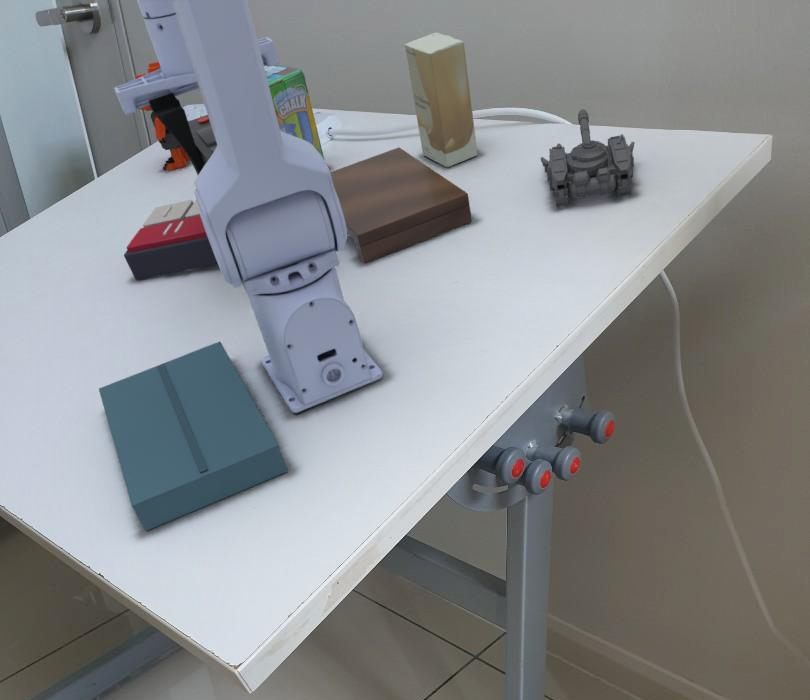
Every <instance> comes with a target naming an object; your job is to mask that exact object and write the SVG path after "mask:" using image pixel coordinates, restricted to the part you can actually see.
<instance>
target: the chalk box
mask: <svg viewBox="0 0 810 700" xmlns="http://www.w3.org/2000/svg"><path fill="white" fill-rule="evenodd" d="M264 68H265V72H266V77H267V81H268V85H269V89H270V93H271V97H272V101H273V105H274V109H275V113H276V117H277V121H278V125H279V129H280V131H282V132H284V133H287V134H290V135H292V136H295V137H297V138H300V139H303V140H305V141H307V142H309V143H310V144H312V145H313V146H314V147H315V149H316V150H317V151H318V152H319V153H320V154H321V156H322V157H323V159H324V161H325V162H326V160H325V155H324V151H323V149H322V148H323V147H322V143H321V140H320V136H319V131H318V127H317V123H316V118H315V114H314V110H313V106H312V103H311V98H310V95H309V89H308V85H307V81H306V77H305V73H304V72H303V70H302V69H300V68H297V67H291V66H284V65H279V64H276V65H273V66H270V67H268V66H264Z"/></svg>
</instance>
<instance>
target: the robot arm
mask: <svg viewBox="0 0 810 700" xmlns="http://www.w3.org/2000/svg"><path fill="white" fill-rule="evenodd" d="M136 2H137V5H138V8H139V11H140V14H141V17H142V19H143V21H144V26H145V28H146V31H147V33H148V36H149V40H150V42H151V44H152V47H153V50H154V54H155V56H156V58H157V62H159V64H160V67H161V69H159V70H157V71H154V72H152V73H150V74H148V73H147V74H146V75H145V76H143V77H140V78H138V79H133V80H131V81H128V82H126V83H124V84H120V85H117V86H115V87H113V90H114V92H115V94H116V97H117V99H118V102H119V105H120V107H121V109H122V111H123V113H124V114H125V116H128V115H131V114H134V113H136V112H137V111H138V110H140V109H139V108H142V107H145V106H148V105H149V107H150V108H151V112H154V114H155V115H156V117H157V118H158V119H159V120H160V121H161V122H162V123H163V124H164V125H165V126H166V128H167V129H168V130H169V131H170V132H171V133H172V135H173V136H174V137H175V138H176V139H177V141H178V142H179V143H180V145H181V146H182V148H183V149H184V151H185V152H186V154H187V155H188V157H189V159H190V160H189V161H190V162H191V164H192V166H193V168H194V170H195V172H196V175H197V176H196V177H195V180H194V186H195V188H194V191H193V195H194V196H195V201H196V200H197V203H198V206H199V208H200V217H201V220H202V223H203V226H204V229H205V231H206V234H207V237H208V239H209V242H210V245H211V247H212V250H213V253H214V255H215V258H216V260H217V263H218V264H217V266H218V267H219V270H220V273H221V274H222V277H223V279H224V281H225V283H227V284H229V285H232V286H233V287H234V288H238V287H240V286H243V288H244V291H245V292H246V294H247V297H248V299H249V303H250V306H251V309H252V312H253V314H254V317H255V320H256V323H257V325H258V328H259V331H260V335H261V337H262V340H263V343H264V345H265V348H266V351H267V354H268V355H267V356H265V357H263V358H262V359H261V363H262V366H263V368H264V369H265V371H266V372H267V374H268V376H269V377H270V379H271V381H272V382H273V384H274V386H275V387H276V389H277V391H278V392H279V394H280V395H281V397H282V399H283V400H284V403H285V404H286V405H287V408H289V411H290V412H291V413H293V414H294V413H295V414H297V413H300V412H302V411H304V410H307V409H310V408H312V407H314V406H317V405H320V404H322V403H324V402H327V401H329V400H332V399H334V398H337V397H340V396H341V395H344V394H346V393H348V392H351V391H354V390H357V389H358V388H361V387H363V386H366V385H369V384H371V383H374V382H376V381H378V380H381V379H382V378H383V375H384V374H383V370H382V369H381V368H380V367H379V366H378V365H377V363H376V362H375V361H374V360H373V358H371V356H370V354H369V353H367V351H366V350H365V349H364V345H363V342H362V338H361V333H360V331H359V327H358V323H357V322H358V321H357V319H356V316H355V314H354V311H353V310H352V308H351V307H350V305H349V304H348V303H347V302H346V300H345V297H344V295H343V294H344V293H343V290H342V287H341V283H340V279H339V275H338V273H337V269H336V267H337V266H339V265H340V261H339V257H338V254H337V252H339V251H343V250H344V248H345V244H346V242H347V239H348V234H347V228H346V223H345V219H344V215H343V211H342V208H341V205H340V202H339V199H338V196H337V193H336V191H335V188H334V185H333V181H332V177H331V173H330V172H331V170H330V169H329V166H328V165H327V162H326V160H325V158H324V159H323V157H322V156H321V154H320V153H319V152H318V151H317V150H316V149H315V147H314V146H313V145H312V144H310V143H309V142H307V141H305V140H303V139H300V138H297V137H295V136H292V135H290V134H287V133H284V132H282V131H280V129H279V125H278V121H277V117H276V113H275V109H274V105H273V101H272V97H271V93H270V89H269V85H268V81H267V77H266V72H265V68H264V66H268V67H270V66H273V65H279V64H280V61H279V58H278V53H277V50H276V45H275V43H274V40H273V39H271V38H269V37H268V36H265V37H263V38H259V39H258V37H257V36H258V35H257V34H256V28H255V25H254V24H255V23H254V21H253V18H252V12H251V8H250V5H249V1H248V0H136ZM198 89H199V91H200V96H201V98H202V101H203V104H204V107H205V110H206V113H207V114H206V115H208V117H209V120H210V123H211V126H212V130H213V133H214V136H215V139H216V142H217V147H216V149H215V151H214V152H213V154H212V156H211V157H210V158H209V160H208V161H207V163H206V164H205V166H204V164H203V161H202V159H201V157H200V155H199V152H198V150H197V148H196V145H195V142H194V139H193V136H192V133H191V130H190V127H189V124H188V117H187V114H186V111H185V109H184V107H182V105H181V103H180V99H178V98H177V97H178V96H181V95H183V94H187V93H190V92H192V91H197V90H198ZM324 160H325V161H324Z"/></svg>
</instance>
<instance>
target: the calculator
mask: <svg viewBox="0 0 810 700" xmlns="http://www.w3.org/2000/svg"><path fill="white" fill-rule="evenodd" d="M126 249H127V250H126V251H125V252H124V254H123V257H124V259H125V261H126V264H127V265H128V267H129V269H130V271H131V273H132V275H133V277H134V279H135V280H137V281H140V280H145V279H149V278H155V277H161V276H165V275H170V274H175V273H182V272H187V271H192V270H197V269H201V268H205V267H212V266H218V263H217V260H216V258H215V255H214V253H213V250H212V247H211V245H210V242H209V239H208V237H207V234H206V231H205V229H204V226H203V223H202V220H201V217H200V208H199V206H198V203H197V200H196V199H195V200H192V199H189V200H188V199H187V200H184V201H179V202H175V203H170V204H165V205H160V206H156V207H155V208H154V209H153V210H152V212H151V213H150V214H149V216H148V217H147V218H146V220H145V221H144V223H143V224H142V227H141V228H140V229H139V230H138V231H137V232H136V233H135V235H134V236H133V238H132V239H131V240H130V241H129V243H128V244H127V246H126Z"/></svg>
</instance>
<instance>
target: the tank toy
mask: <svg viewBox="0 0 810 700" xmlns="http://www.w3.org/2000/svg"><path fill="white" fill-rule="evenodd" d="M577 121H578V124H579V130H580V136H581V143H579V144H578V145H577V146H574V147H573V148H572V149H571V151H570V152H569V153H568V152H566V148H565V146H563V145H562V144H561V143H557V144H556V146H551V148H549V150H548V151H549V160H548V159H547V158H544V156H541V157H540V162H541V164H542V167H543V168H544V173H546V176H547V182H549V191H550V192H552V197H554V204H555V206H556V207H557V206H565V205H568V204H569V196H571V197H573V199H576V198H578V199H584V198H586V197H587V196H595V195H599V194H600V195H603V196H604V195H608V194H609V193H612V192H614V191H615V190H616V192H617V196H618V197H619V196H620V197H621V196H627V195H632V183H633V179H632V178H634V168H635V159H634V158H635V157H634V156H633V155H634V154H633V153H634V152H633V151H634V148H635V142H634V141H631V142H630V144H628V143H627V140H626V137H625V136H624V134H620V135H615V136H611V137H609V138H607V145H605V143H603V142H601V141H600V140H591V139H592V138H591V130H590V124H589V122H590V117H589V113H588V111H587V110H586V109H580V110H579V111H578V114H577Z"/></svg>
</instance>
